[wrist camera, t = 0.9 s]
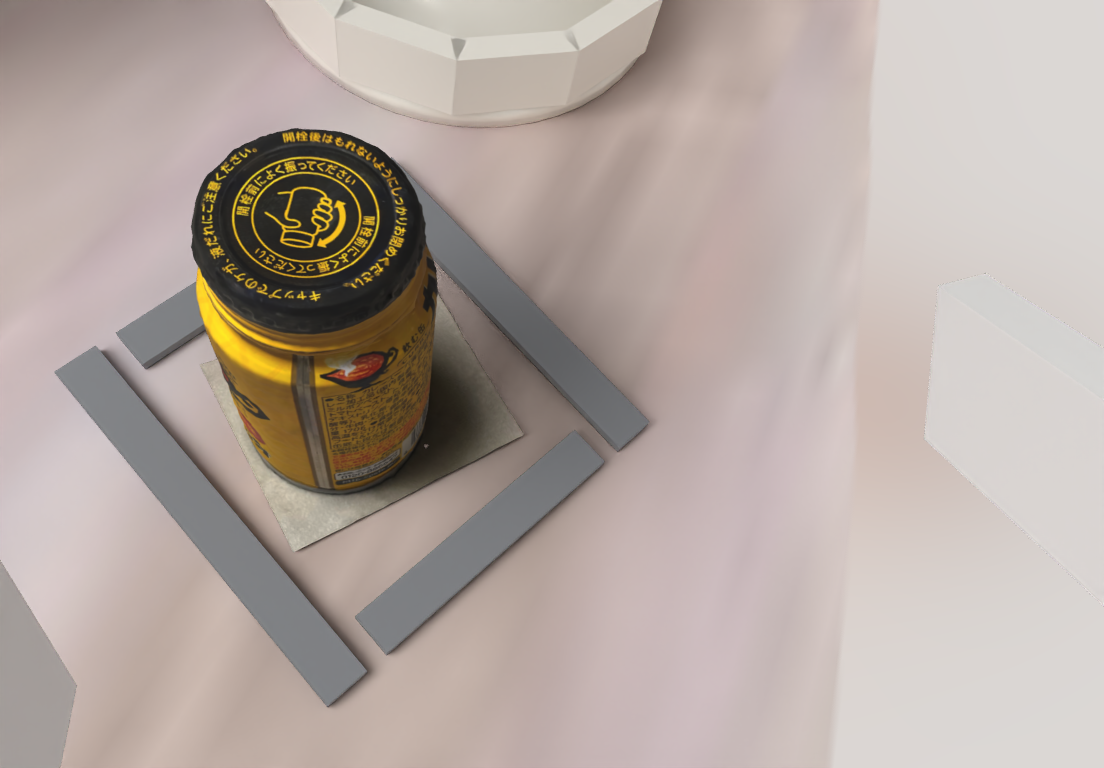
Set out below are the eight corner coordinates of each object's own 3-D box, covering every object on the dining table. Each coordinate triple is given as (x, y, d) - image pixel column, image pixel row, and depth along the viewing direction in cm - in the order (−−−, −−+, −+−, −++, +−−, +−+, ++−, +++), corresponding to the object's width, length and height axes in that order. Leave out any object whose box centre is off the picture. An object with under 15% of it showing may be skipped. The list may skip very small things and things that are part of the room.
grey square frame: (58, 376, 31) (54, 371, 31) (391, 163, 37) (391, 157, 36) (327, 707, 29) (326, 706, 28) (646, 425, 34) (649, 421, 33)
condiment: (200, 367, 32) (102, 148, 21) (424, 272, 35) (438, 35, 24) (293, 555, 30) (237, 418, 19) (523, 438, 33) (586, 261, 22)
